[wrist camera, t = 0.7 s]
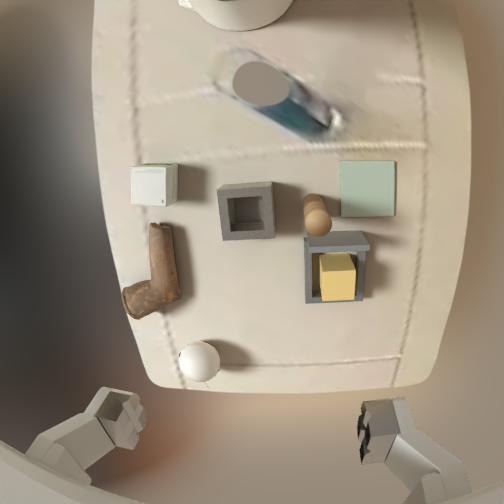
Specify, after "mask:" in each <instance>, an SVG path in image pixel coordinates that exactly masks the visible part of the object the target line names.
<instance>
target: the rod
mask: <svg viewBox="0 0 504 504" xmlns="http://www.w3.org/2000/svg"><path fill="white" fill-rule="evenodd" d="M302 205H303V212H304V219H305V227H306V230H307V231H308V233H309V234H311V235H312V236H315V237H322V236H324V235H326V234H327V233H328V232H329V231H330V230H331V227H332V220H331V218H330V215H329V213H328V211H327V209H326V206H325V204H324V202H323V200H322V198H321V197H320V196H319V195H317V194H308V195H307V196H306V197H305V198H304V199H303V202H302Z"/></svg>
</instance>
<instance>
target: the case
mask: <svg viewBox="0 0 504 504" xmlns="http://www.w3.org/2000/svg"><path fill="white" fill-rule="evenodd" d="M347 251H357V263H356V283H355V294H354V300H337V301H322V295H321V292H312V253H322V252H347ZM366 251H370V244H369V243H368V241H367V239H366V238H365V236H364V235H363V233H362V232H361V231H333V232H328V233H327V234H326V235H324V236H322V237H315V236H312V235H311V234H309V233H308V232H307V238H304V259H305V302H306V304H307V303H331V302H351V301H363V292H364V278H365V262H366Z"/></svg>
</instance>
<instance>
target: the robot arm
mask: <svg viewBox="0 0 504 504" xmlns="http://www.w3.org/2000/svg"><path fill="white" fill-rule="evenodd" d="M178 2H179V4H180V5H181V6H182V7H184V8H186V9H189V10H192V11H195V12H197V13H198V14H199V15H200V16H201V17H202V18H203V19H205V20H206V21H207V22H209V23H210V24H212V25H214V26H216V27H219V28H222V29H226V30H232V31H246V30H252V29H257V28H260V27H263V26H266V25H268V24H270V23H272V22H273V21H275V20H276V19H278V18H279V17H280V16H282V15H283V14H284V13H285V11H286V10H287V9H288V7H289V6H290V4H291V3H292V2H293V0H178ZM139 401H140V398H139V396H138V394H135V393H131V392H126V391H121V390H116V389H112V388H106V387H102V388H101V389H100V390H99V391H98V392H97V394H96V396H95V397H94V398H93V400H92V402H91V403H90V404H89V406H88V407H87V409H86V411H85V412H84V413H80V414H78V415H76V416H74V417H72V418H70V419H68V420H66V421H64V422H62V423H61V424H59V425H57V426H55V427H53V428H51V429H49V430H47V431H45V432H43V433H41V434H39V435H38V436H37V438H36V439H35V441H34V442H33V444H32V445H31V447H30V448H29V450H28V451H27V452H26V454H25V455H24V454H22V453H21V452H19V451H17V450H15V449H14V448H11V447H10V446H9V445H7V444H5V443H4V442H2V441H0V504H146V503H142V502H139V501H135V500H132V499H128V498H125V497H122V496H119V495H115V494H113V493H110V492H107V491H104V490H101V489H99V488H96V487H93V486H91V485H89V484H90V482H91V478H90V477H89V476H88V474H87V473H86V472H85V471H84V470H85V469H86V468H88V467H89V466H90V465H92V464H93V463H94V462H96V461H97V460H98V459H100V458H101V457H102V456H103V455H105V454H106V453H108V452H109V451H110V450H112V449H113V448H114V447H115V446H118V447H123V448H127V449H132V450H133V449H134V448H135V445H136V443H137V441H138V439H139V436H138V432H140V431H141V430H143V428H144V426H145V424H146V411H145V409H144V407H143V406H141V405H140V404H139ZM361 413H362V414H361V415H360V416H359V418H358V425H357V433H358V440H359V441H360V442H361V447H360V458H361V465H364V464H373V463H383V462H385V465H386V466H387V467H388V468H389V469H390V470H391V471H392V472H393V474H394V475H395V476H396V477H397V478H398V479H399V480H400V481H401V482H402V483H403V485H404V486H405V487H406V488H407V489H408V490H409V491H410V492H411V493H410V495H409V496H408V497H407V498H406V500H405V501H404V502H403V504H504V480H502V481H500V482H497V483H495V484H493V485H490V486H488V487H485V488H482V489H480V490H477V491H474V492H472V490H471V487H470V483H469V480H468V477H467V473H466V470H465V467H464V464H463V463H462V462H460V461H459V460H458V459H457V458H455V457H454V456H453V455H451V454H450V453H448V452H447V451H446V450H444V449H443V448H442V447H441V446H439V445H438V444H437V443H436V442H434V441H433V440H431V439H430V438H429V437H428V436H426V435H425V434H424V433H423V432H421V431H416V429H415V426H414V422H413V419H412V416H411V413H410V409H409V407H408V403H407V400H406V398H405V397H397V398H391V399H390V398H388V399H380V400H371V401H363V403H362V405H361Z"/></svg>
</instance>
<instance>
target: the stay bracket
mask: <svg viewBox="0 0 504 504" xmlns="http://www.w3.org/2000/svg"><path fill="white" fill-rule="evenodd" d="M217 196H218V204H219V213H220V221H221V229H222V237H223V241H225V240H247V239H269V238H274V237H275V231H276V224H275V210H274V197H273V183H272V182H256V183H242V184H229V185H223V186H221V187H220V188H219V189H218V190H217ZM253 196H262V203H263V215H264V222H251V223H236V222H235V213H234V204H233V198H238V197H253Z"/></svg>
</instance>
